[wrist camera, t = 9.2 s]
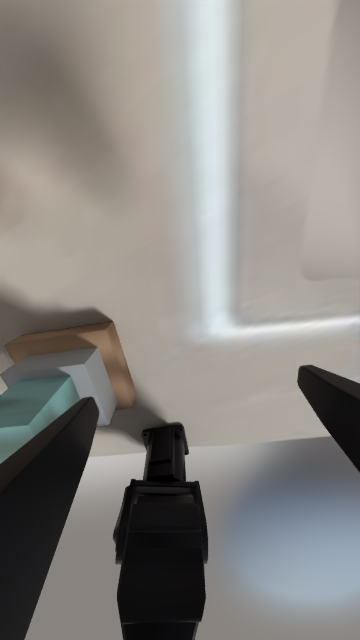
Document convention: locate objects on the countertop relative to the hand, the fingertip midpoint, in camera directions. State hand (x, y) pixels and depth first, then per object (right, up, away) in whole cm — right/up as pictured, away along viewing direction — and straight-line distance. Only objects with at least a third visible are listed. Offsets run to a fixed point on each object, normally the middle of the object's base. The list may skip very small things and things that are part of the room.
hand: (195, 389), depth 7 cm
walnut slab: (-13, -3, +15) cm, 20 cm away
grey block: (-13, -4, +13) cm, 19 cm away
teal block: (-13, -5, +10) cm, 17 cm away
